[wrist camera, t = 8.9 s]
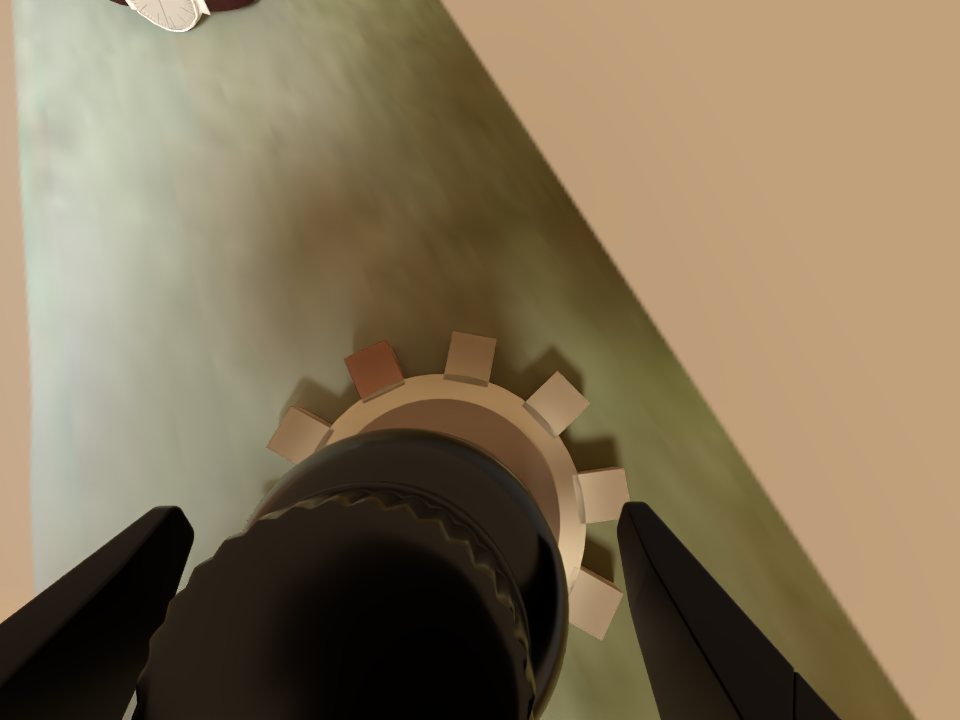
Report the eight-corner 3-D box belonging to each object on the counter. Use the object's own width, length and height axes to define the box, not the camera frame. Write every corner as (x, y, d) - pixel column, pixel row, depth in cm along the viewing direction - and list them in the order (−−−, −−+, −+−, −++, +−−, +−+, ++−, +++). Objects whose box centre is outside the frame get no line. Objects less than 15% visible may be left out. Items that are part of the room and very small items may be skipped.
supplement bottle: (543, 450, 17) (671, 472, 6) (514, 642, 16) (598, 1175, 5) (367, 419, 18) (137, 377, 6) (326, 606, 17) (-60, 1022, 5)
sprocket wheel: (686, 605, 18) (703, 619, 16) (348, 785, 17) (336, 816, 15) (521, 285, 20) (524, 274, 19) (214, 427, 19) (193, 426, 18)
